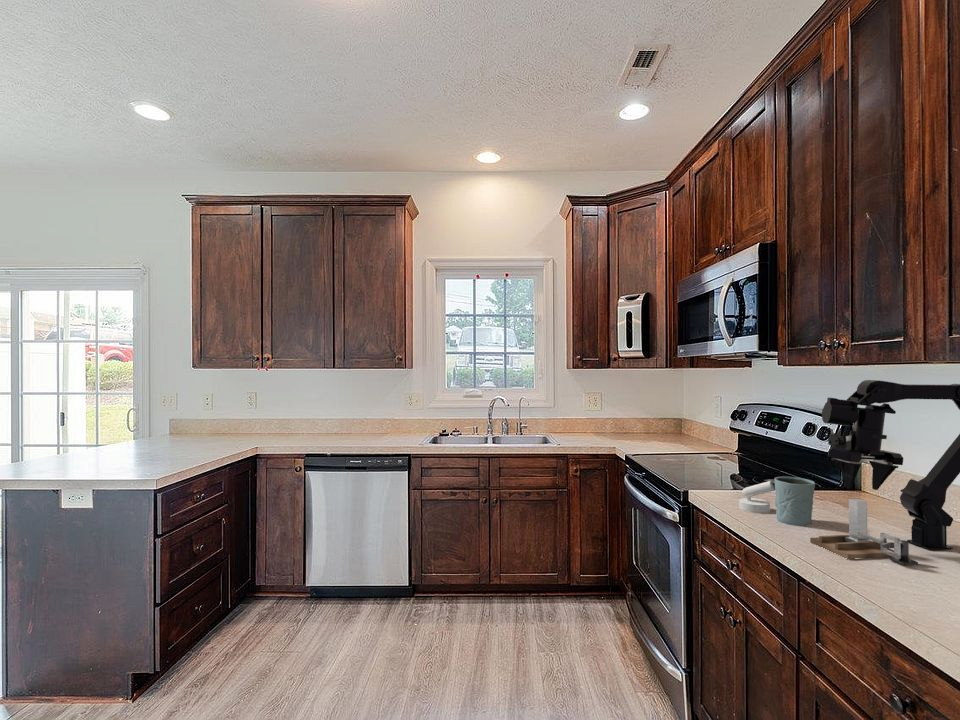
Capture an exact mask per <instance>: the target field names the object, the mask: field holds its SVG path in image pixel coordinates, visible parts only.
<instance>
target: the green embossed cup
mask: <svg viewBox="0 0 960 720" xmlns="http://www.w3.org/2000/svg"><path fill="white" fill-rule="evenodd" d="M815 486H816V482H815V481H814V480H811V479H807V478H804V477H795V476H794V477H793V476H777V477H774V488H775V491H774V492H775V493H774V494H775V507H776V510H775V513H776V519H777V522H780V523H781V524H784V525H790V526H795V525H796V527H797V526H798V527H807V526H806V525H808V526H810V525H811V523H812V517H813V514H812V513H813V507H814V506H813V505H814V495H815Z"/></svg>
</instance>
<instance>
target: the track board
mask: <svg viewBox="0 0 960 720" xmlns="http://www.w3.org/2000/svg"><path fill="white" fill-rule="evenodd" d="M845 537H849V534H838V535H837V534H835V535H819V536H818V537H810V540H809V541H810V542H812V543H811V544H813V543H814V544H813V545H815V544H816V545H815V546H817V545H818V546H817V547H819V546H820V548H821V547H823V548H822V549H824V548H825V549H824V550H826V549H827V550H826V551H828V550H829V551H828V552H830V551H831V553H832V552H833V554H834V553H836V554H835V555H837V554H838V555H837V556H839V555H840V556H839V557H841V556H842V557H841V558H843V557H844V559H845V558H847V559H846V560H848V559H851V560H856V559H855V558H872V559H888V558H889V557H892V556H890V555H887V554H885V553H882V552H881V547H880V544H879V543H877V542H874V541H872V540H870V541H867V542H846V541H845ZM868 540H869V539H868ZM887 550H890V551H892V552H894V549H893V548H887ZM889 559H890V558H889Z"/></svg>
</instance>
